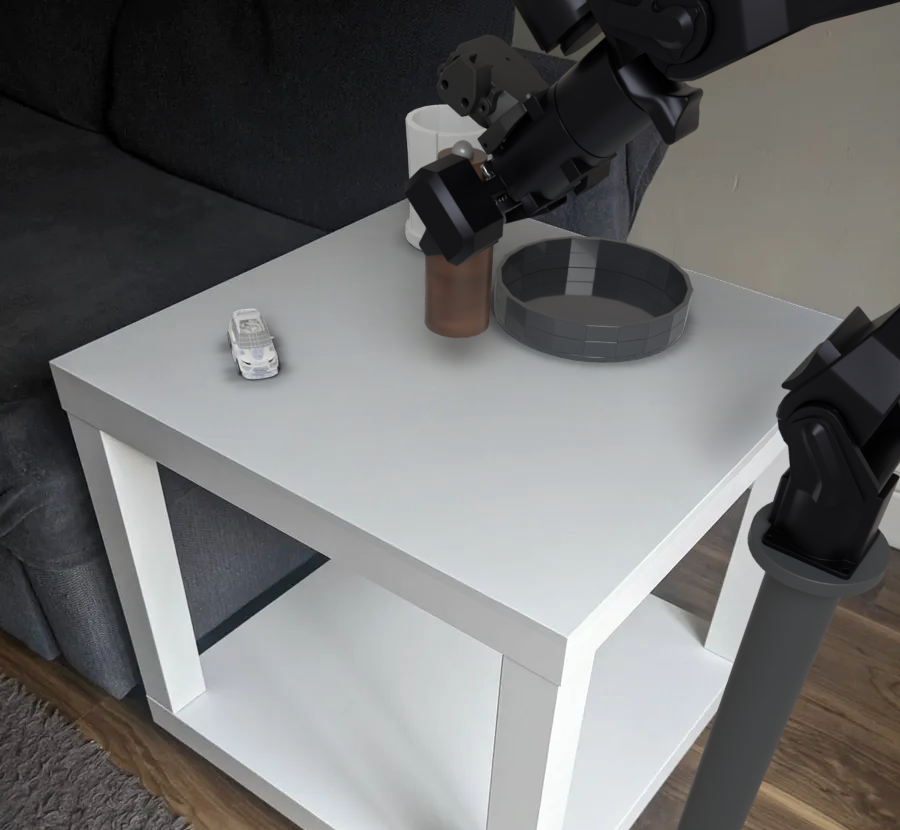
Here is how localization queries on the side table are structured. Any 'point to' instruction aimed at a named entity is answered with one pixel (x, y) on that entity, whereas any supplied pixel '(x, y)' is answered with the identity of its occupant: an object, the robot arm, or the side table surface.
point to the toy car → (252, 345)
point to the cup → (434, 147)
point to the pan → (591, 298)
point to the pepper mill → (459, 277)
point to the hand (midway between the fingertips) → (445, 237)
